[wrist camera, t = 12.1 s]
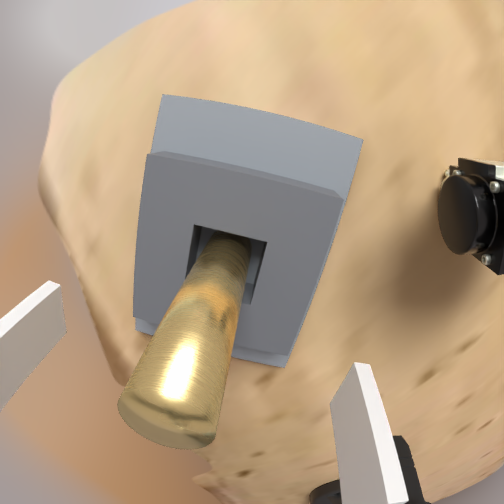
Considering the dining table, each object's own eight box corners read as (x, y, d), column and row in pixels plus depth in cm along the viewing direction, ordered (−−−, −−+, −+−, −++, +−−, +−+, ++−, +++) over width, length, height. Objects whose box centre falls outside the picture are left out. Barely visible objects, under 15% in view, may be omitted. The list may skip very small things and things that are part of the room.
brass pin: (246, 272, 22) (209, 457, 8) (204, 262, 22) (122, 431, 8) (256, 233, 21) (223, 408, 7) (212, 222, 21) (113, 376, 7)
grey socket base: (284, 357, 27) (284, 391, 23) (141, 321, 27) (122, 350, 23) (357, 139, 20) (377, 140, 15) (169, 96, 19) (145, 88, 15)
